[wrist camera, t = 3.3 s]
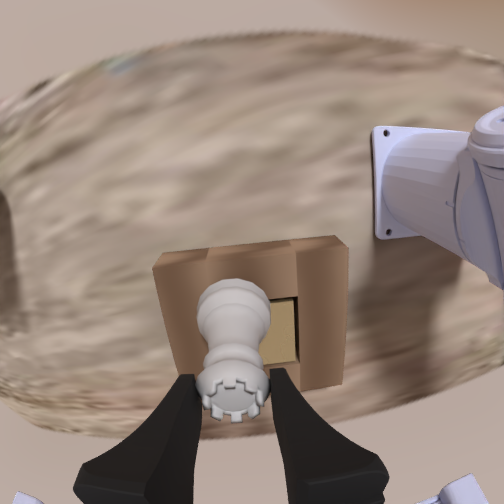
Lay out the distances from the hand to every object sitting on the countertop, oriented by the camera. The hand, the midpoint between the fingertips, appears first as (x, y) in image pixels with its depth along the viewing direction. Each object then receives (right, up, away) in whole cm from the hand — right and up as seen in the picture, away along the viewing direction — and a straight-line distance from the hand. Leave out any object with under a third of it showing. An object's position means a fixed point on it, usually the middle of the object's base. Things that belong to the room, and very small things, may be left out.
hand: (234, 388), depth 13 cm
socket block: (+1, +1, +10) cm, 10 cm away
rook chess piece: (0, +3, +6) cm, 7 cm away
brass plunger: (+1, +1, +8) cm, 9 cm away
